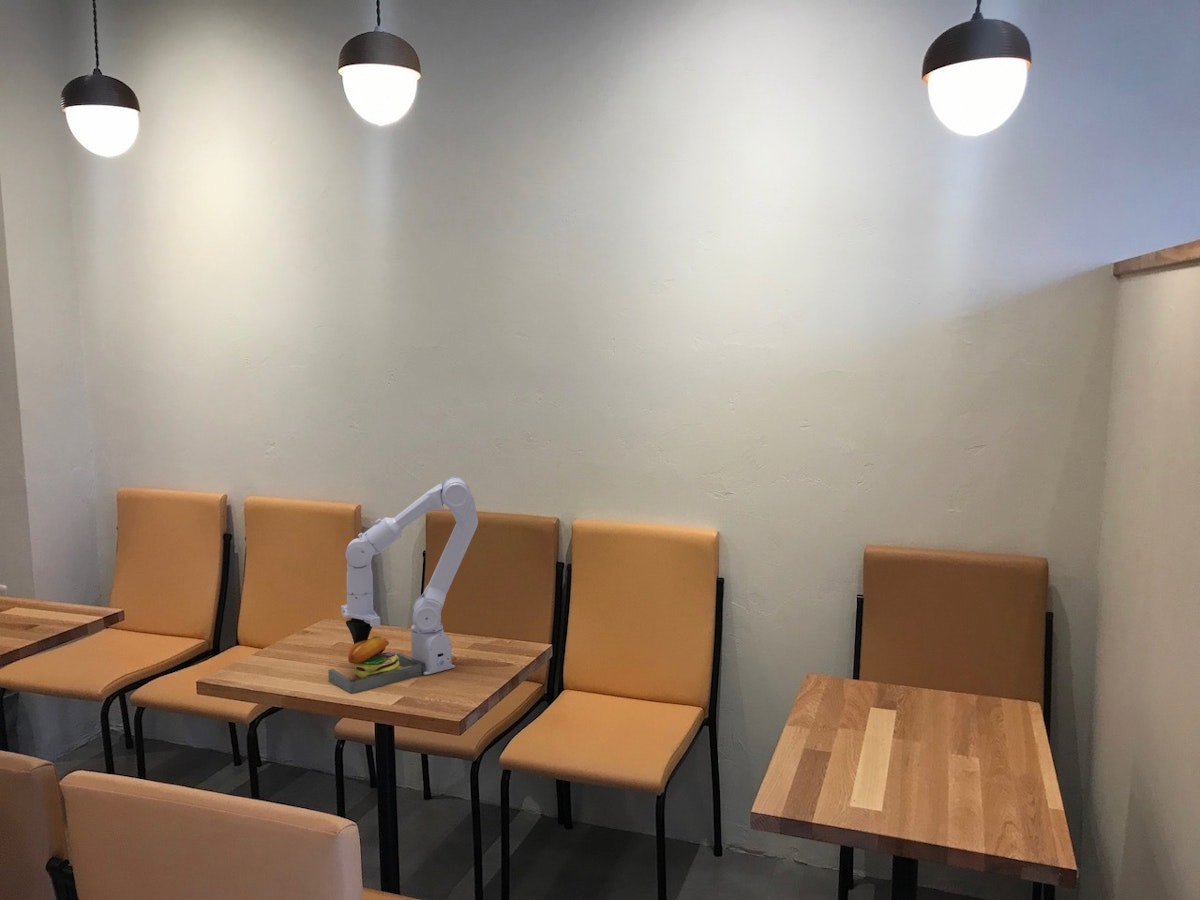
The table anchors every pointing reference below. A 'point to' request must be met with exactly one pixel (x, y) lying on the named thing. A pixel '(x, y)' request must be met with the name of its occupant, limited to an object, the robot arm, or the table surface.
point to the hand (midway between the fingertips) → (360, 650)
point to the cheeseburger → (372, 657)
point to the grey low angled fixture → (379, 676)
